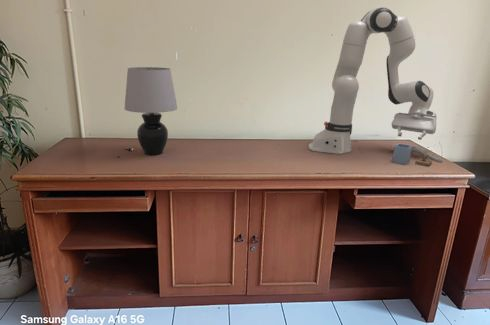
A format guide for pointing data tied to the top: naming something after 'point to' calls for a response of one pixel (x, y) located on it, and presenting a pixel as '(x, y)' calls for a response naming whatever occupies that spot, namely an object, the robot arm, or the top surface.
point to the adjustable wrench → (418, 150)
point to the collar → (402, 154)
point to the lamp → (150, 104)
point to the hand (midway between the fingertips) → (409, 137)
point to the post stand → (423, 161)
